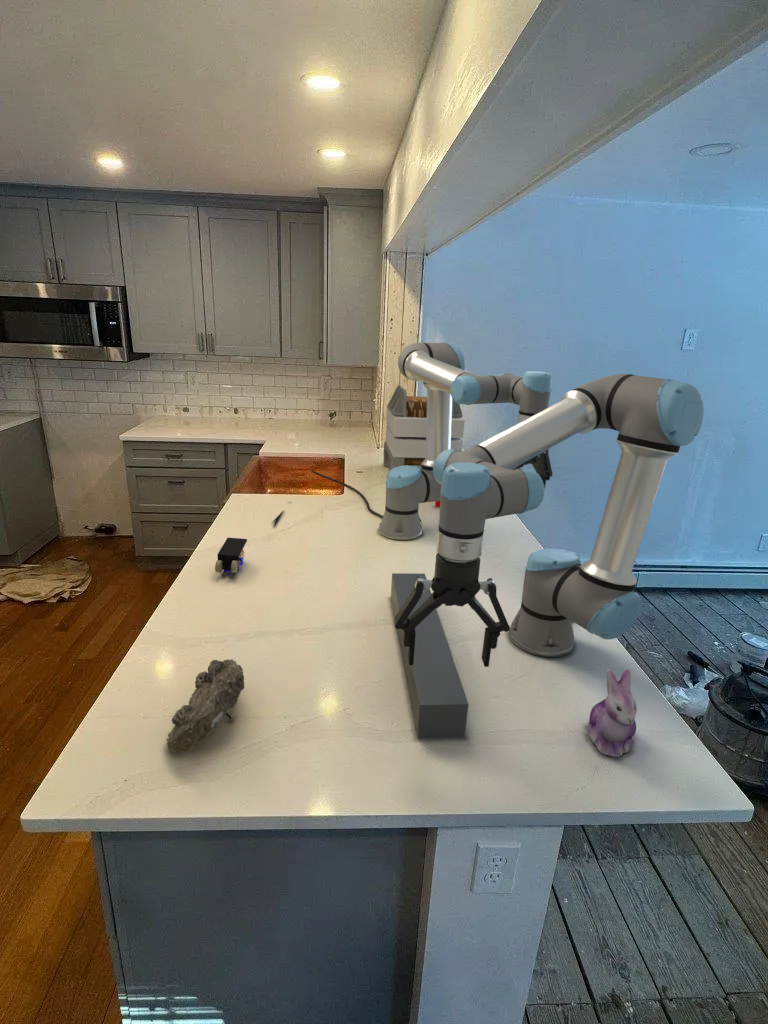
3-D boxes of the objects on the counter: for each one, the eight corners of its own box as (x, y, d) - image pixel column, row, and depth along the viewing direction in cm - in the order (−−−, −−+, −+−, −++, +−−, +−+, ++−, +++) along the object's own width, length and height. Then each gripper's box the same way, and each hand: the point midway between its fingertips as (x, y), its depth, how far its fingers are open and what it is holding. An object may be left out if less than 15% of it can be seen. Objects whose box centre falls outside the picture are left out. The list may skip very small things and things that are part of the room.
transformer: (382, 463, 289) (386, 382, 275) (445, 464, 293) (451, 384, 279) (390, 482, 257) (394, 392, 243) (460, 483, 261) (468, 394, 247)
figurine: (615, 767, 100) (631, 697, 95) (572, 730, 109) (585, 664, 103) (651, 751, 104) (668, 682, 99) (607, 716, 113) (621, 652, 108)
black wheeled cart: (238, 584, 162) (249, 557, 175) (236, 562, 158) (247, 536, 172) (215, 584, 161) (227, 556, 175) (212, 561, 158) (225, 535, 171)
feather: (290, 505, 227) (293, 501, 226) (273, 528, 200) (276, 524, 200) (286, 502, 226) (289, 498, 226) (269, 525, 200) (272, 521, 199)
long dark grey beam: (390, 598, 155) (392, 573, 153) (422, 598, 156) (424, 573, 154) (417, 738, 105) (419, 705, 102) (464, 737, 106) (468, 704, 103)
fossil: (192, 660, 117) (244, 628, 112) (224, 691, 120) (276, 661, 115) (142, 746, 98) (202, 712, 93) (182, 779, 101) (242, 748, 96)
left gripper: (507, 436, 144) (498, 514, 152) (572, 429, 157) (561, 501, 165) (487, 431, 150) (479, 506, 157) (551, 424, 163) (541, 494, 171)
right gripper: (385, 561, 92) (379, 672, 99) (537, 566, 93) (521, 675, 100) (384, 543, 99) (379, 648, 106) (525, 548, 100) (511, 651, 107)
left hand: (521, 504), depth 161 cm, fingers open, 13 cm apart
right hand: (447, 661), depth 103 cm, fingers open, 13 cm apart
